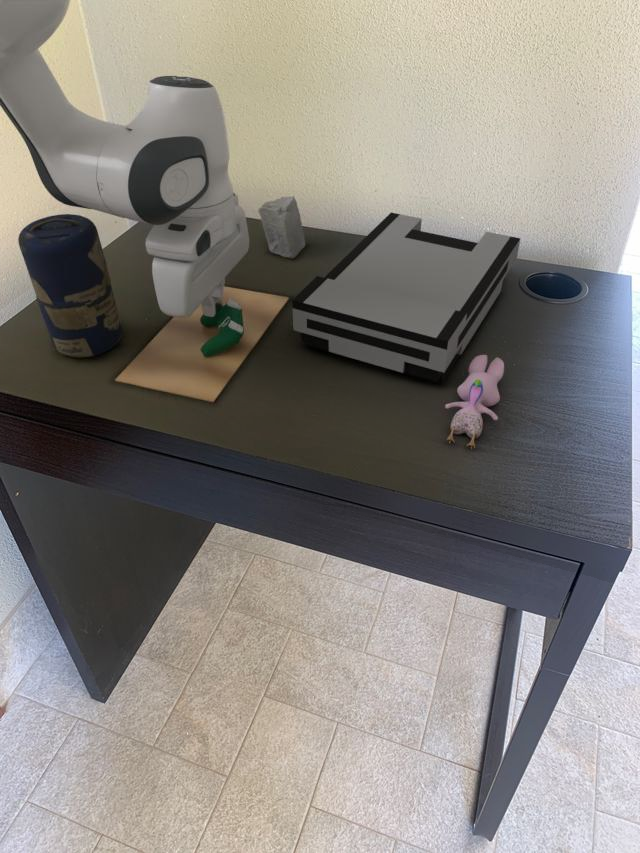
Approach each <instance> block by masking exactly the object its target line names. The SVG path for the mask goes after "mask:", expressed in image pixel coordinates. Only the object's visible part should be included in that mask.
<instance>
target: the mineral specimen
mask: <svg viewBox="0 0 640 853" xmlns="http://www.w3.org/2000/svg"><path fill="white" fill-rule="evenodd" d="M297 202H298V201H297V200H296V198H295V196H294V195H293V196H282V197H280V198H276V199H275V200H269V201H265V202H264V203H263V204H262V205H261V207H259V208H258V213H259V216H260V220H261V221H260V222H261V224H262V228H263V231H264V234H265V238H266V240H267V241H266V242H267V245H268V249H269V252H270V253H272V254H275V255H279V256H281V257H283V258H285V259H286V258H287V259H291V260H293V259H295V258H297V256H298V255H299V253H301V251H302V250H303V249H304V248H305V246H306V238H305V233H304V228H303V224H302V218H301V213H300V210H299V207H298V203H297Z"/></svg>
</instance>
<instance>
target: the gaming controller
mask: <svg viewBox="0 0 640 853" xmlns="http://www.w3.org/2000/svg"><path fill="white" fill-rule="evenodd" d="M200 322H201V324H202V325H203V326H207V327H210V326H219V333H218V334H217V335H215V336H214V337H212V338H211V339H209V340H208V341H207V342H205V344H204V345H203V346H202V347H201V349H200V350H201V352H202V354H203V355H204V357H205V356H211V355H215V354H218V353H220V352H223V351H225V350H227V349H229V348H230V347H232V346H234V345H235V344H236V343H237V344H238V343H239V342H240V339H241V337H242V336H243V333H244V328H243V317H242V309H241V307H240V305H239V304H237V303H235V301H232V300H230V299H229V302H228V303H226V305H225V306H222V307H221V308H220V309H219V311H218V312H217V313H216V314H215V316H214V317H209V316H205V315H204V314H203V315H202V316H201V318H200Z"/></svg>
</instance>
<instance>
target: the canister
mask: <svg viewBox="0 0 640 853" xmlns="http://www.w3.org/2000/svg"><path fill="white" fill-rule="evenodd" d="M17 240H18V241H17V243H18V246H19V250H20V252H21V255H22V257H23V261H24V263H25V267H26V269H27V273H28V275H29V278H30V282H31V284H32V287H33V290H34V294H35V298H36V301H37V304H38V307H39V310H40V312H41V315H42V318H43V321H44V324H45V326H46V329H47V332H48V335H49V338H50V341H51V344H52V346H53V347H54V349H55V350H56V351H58V352H59V353H60V354H62V355H64V356H67V357H71V358H88V357H89V358H90V357H95V356H97V355H101V354H103V353H105V352H108V351H109V350H110V349H112V348H113V347H115V345H117V344H118V342H119V341H120V339H121V337H122V335H123V334H122V333H123V327H122V323H121V319H120V314H119V311H118V307H117V302H116V299H115V295H114V291H113V287H112V283H111V282H112V281H111V277H110V272H109V270H108V265H107V261H106V257H105V254H104V250H103V247H102V242H101V239H100V235H99V231H98V228H97V226H96V225H95V223H94V222H93V221H92V220H91V219H89V218H88V217H86V216H82V215H80V214H71V213H64V214H63V213H62V214H54V215H49V216H45V217H42V218H39V219H37V220H34V221H32V222H30V223H29V224H27V225H26V226H24V227H23V228H22V229H21V231H20V232H19V234H18V238H17Z"/></svg>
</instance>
